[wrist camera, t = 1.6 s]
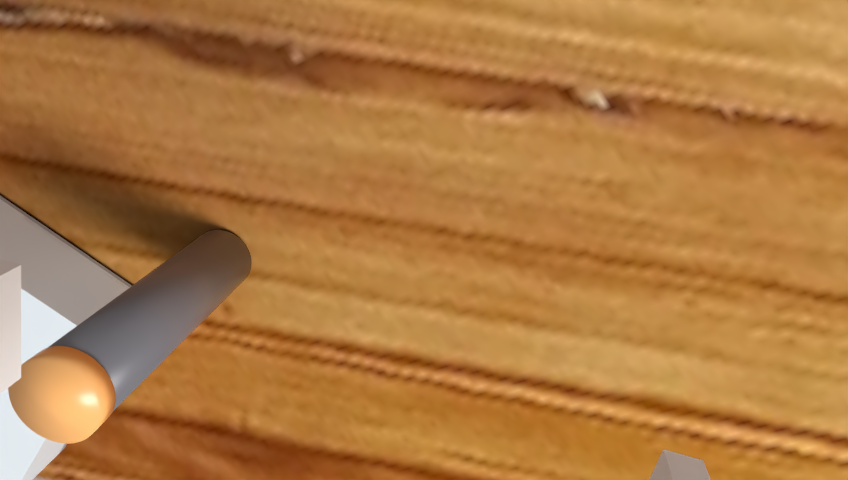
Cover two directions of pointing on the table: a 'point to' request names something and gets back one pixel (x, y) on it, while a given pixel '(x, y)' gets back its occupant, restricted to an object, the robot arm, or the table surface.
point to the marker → (126, 340)
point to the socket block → (45, 319)
